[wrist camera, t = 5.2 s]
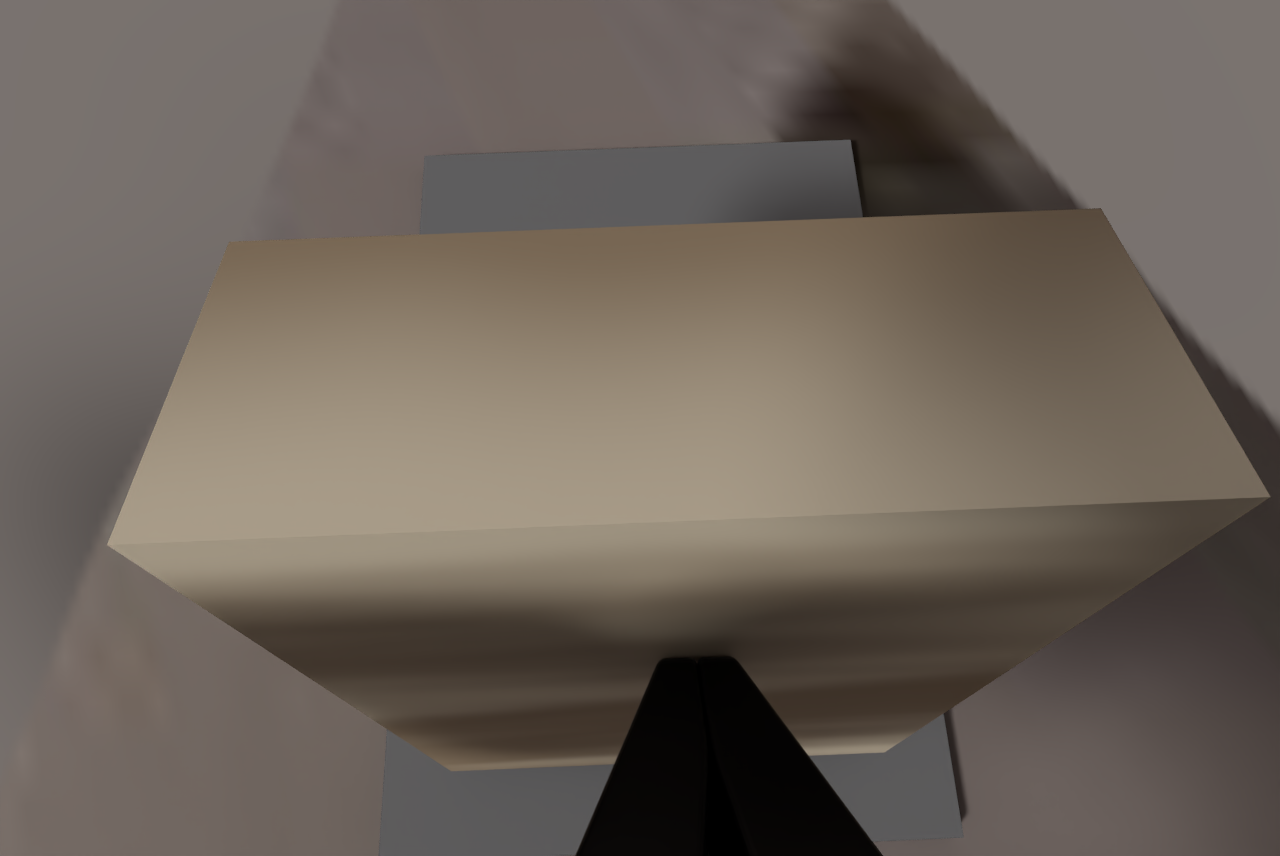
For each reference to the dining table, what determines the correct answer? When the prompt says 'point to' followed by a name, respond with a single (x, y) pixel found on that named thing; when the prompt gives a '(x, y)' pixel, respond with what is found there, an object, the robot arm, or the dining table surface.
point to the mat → (621, 197)
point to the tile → (677, 467)
